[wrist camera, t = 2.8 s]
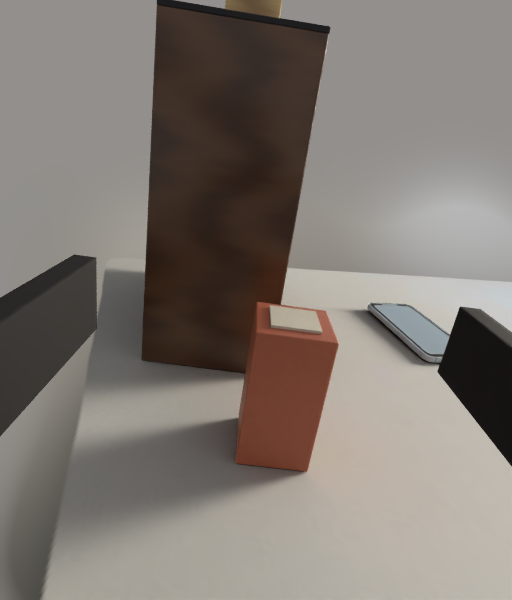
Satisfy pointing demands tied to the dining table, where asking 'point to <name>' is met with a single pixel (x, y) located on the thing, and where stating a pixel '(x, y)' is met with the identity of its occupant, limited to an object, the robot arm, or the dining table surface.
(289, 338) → the orange block
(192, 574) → the dining table surface
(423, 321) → the smartphone
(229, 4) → the wooden pillar block
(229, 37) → the stand
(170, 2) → the black mat
